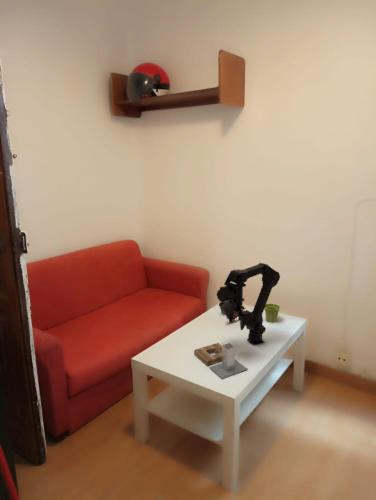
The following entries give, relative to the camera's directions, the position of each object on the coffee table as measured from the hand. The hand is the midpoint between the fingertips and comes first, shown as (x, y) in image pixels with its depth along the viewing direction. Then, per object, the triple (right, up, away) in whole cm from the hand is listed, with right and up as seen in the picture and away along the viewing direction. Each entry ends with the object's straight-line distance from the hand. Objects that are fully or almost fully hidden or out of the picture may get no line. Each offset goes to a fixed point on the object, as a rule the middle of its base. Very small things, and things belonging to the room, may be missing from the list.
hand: (236, 326), depth 180 cm
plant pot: (+25, -4, +35) cm, 44 cm away
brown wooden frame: (-12, -14, -2) cm, 18 cm away
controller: (0, -1, +48) cm, 48 cm away
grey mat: (-5, -17, -13) cm, 22 cm away
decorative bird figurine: (+4, -5, +35) cm, 36 cm away
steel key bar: (-5, -16, -13) cm, 22 cm away
